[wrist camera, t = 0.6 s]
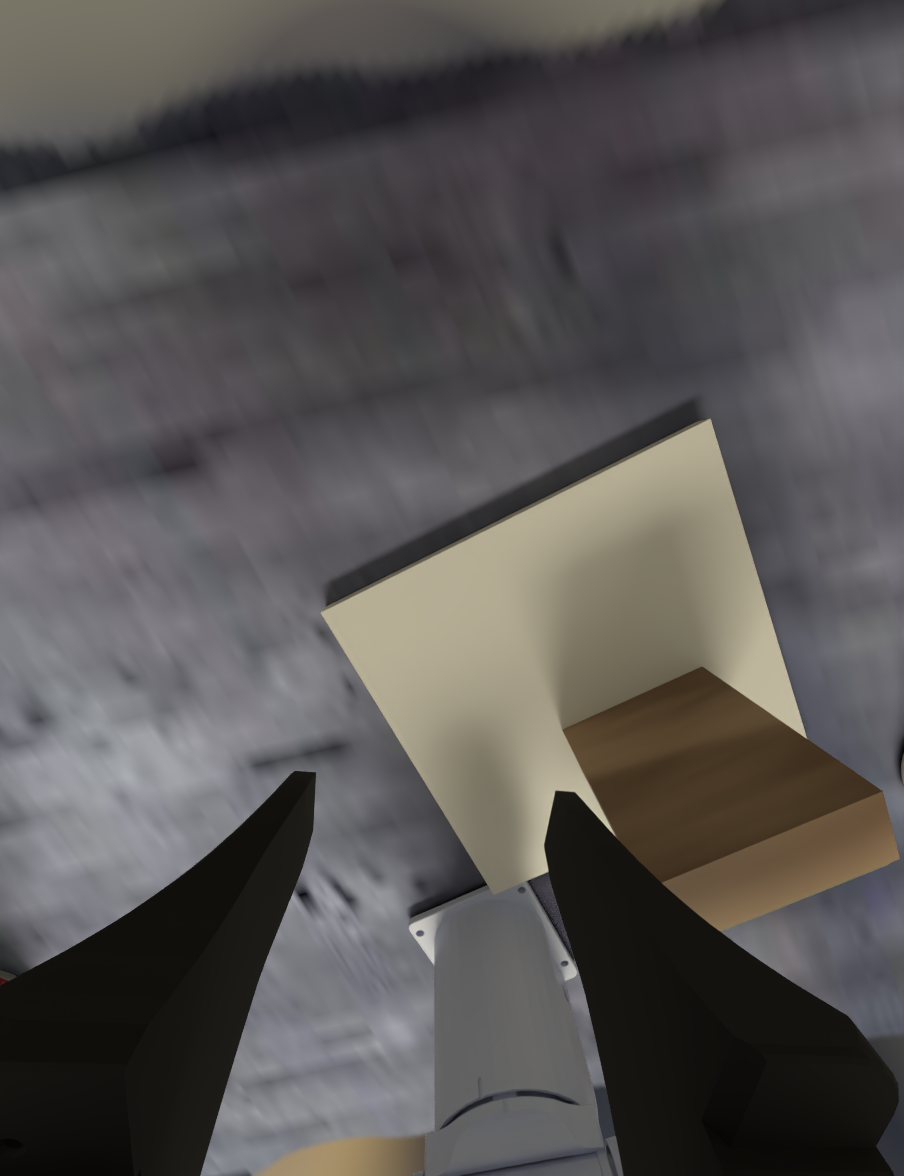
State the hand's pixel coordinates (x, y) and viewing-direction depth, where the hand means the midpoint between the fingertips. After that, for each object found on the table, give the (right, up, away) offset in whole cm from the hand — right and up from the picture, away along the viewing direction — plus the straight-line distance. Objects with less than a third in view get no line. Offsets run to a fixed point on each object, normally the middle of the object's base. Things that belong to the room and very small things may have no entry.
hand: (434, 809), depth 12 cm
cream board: (+8, +1, +10) cm, 13 cm away
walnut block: (+11, -1, +10) cm, 15 cm away
